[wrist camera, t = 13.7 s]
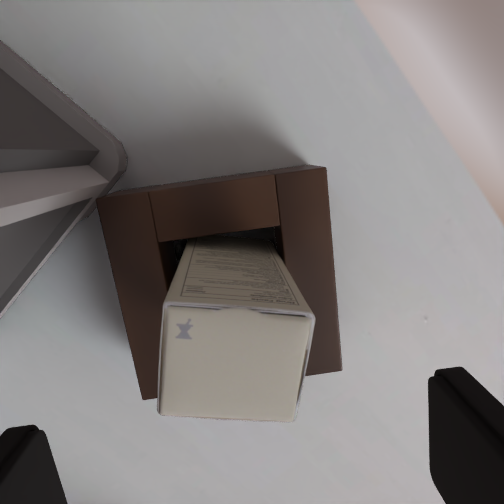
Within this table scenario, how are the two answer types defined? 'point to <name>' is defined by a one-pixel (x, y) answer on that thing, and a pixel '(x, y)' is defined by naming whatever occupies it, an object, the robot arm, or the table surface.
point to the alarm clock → (45, 170)
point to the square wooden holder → (218, 222)
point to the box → (233, 334)
